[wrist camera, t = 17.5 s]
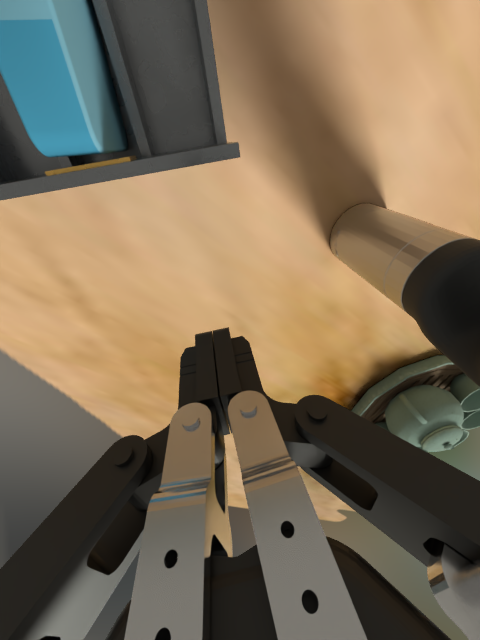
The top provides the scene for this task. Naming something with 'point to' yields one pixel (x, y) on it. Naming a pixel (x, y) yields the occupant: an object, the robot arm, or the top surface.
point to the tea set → (424, 404)
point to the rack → (135, 102)
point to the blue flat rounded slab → (60, 77)
